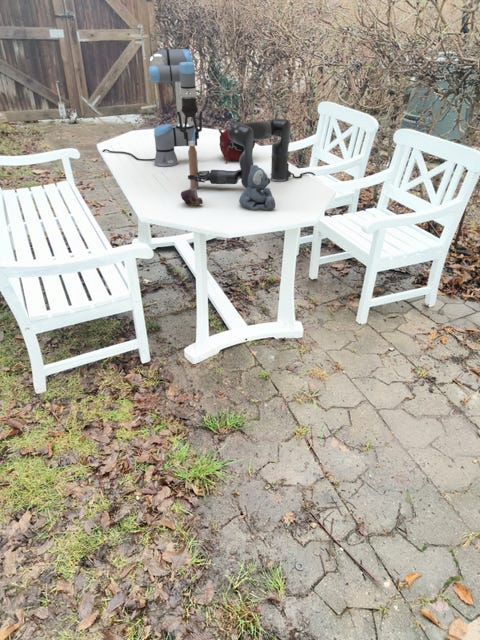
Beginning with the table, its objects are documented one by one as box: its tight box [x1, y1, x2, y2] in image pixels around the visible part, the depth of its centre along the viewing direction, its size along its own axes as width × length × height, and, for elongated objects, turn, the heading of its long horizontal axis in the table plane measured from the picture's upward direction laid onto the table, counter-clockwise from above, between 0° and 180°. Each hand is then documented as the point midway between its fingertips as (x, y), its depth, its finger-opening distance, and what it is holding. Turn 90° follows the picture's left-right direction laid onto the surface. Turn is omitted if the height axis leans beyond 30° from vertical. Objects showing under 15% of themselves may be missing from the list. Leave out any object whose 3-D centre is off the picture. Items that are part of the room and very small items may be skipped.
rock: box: [180, 188, 204, 207], centre depth 229 cm, size 12×9×10 cm
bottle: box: [187, 145, 200, 190], centre depth 247 cm, size 5×5×24 cm
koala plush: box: [238, 164, 276, 211], centre depth 224 cm, size 17×18×20 cm
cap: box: [187, 141, 196, 147], centre depth 240 cm, size 4×4×2 cm
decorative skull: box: [218, 128, 256, 164], centre depth 298 cm, size 21×24×25 cm
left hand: (192, 145), depth 241 cm, fingers closed on cap, 4 cm apart
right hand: (189, 175), depth 250 cm, fingers closed on bottle, 4 cm apart
